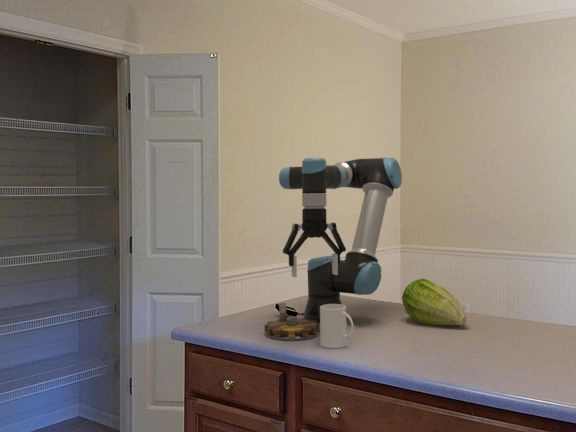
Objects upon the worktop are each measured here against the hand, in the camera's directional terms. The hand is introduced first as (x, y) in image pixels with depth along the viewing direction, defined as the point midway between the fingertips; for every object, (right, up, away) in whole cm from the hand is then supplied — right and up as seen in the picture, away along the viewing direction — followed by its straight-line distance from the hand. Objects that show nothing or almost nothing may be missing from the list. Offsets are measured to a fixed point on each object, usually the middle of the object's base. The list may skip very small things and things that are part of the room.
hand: (314, 275), depth 184 cm
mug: (+7, -22, -3) cm, 23 cm away
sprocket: (-7, -20, +13) cm, 25 cm away
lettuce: (+43, -19, +22) cm, 52 cm away
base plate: (-7, -21, +13) cm, 25 cm away
